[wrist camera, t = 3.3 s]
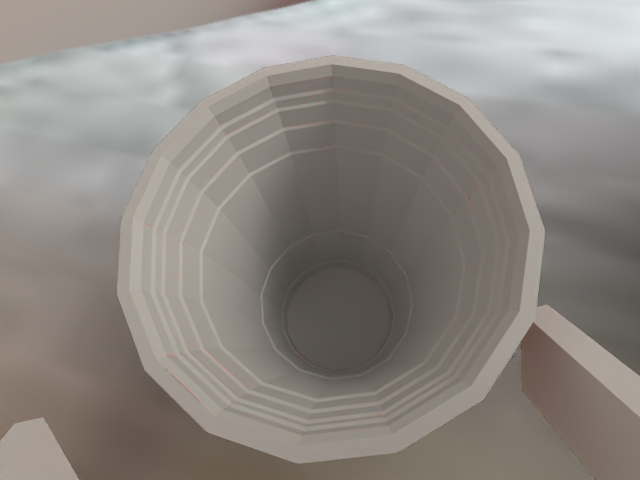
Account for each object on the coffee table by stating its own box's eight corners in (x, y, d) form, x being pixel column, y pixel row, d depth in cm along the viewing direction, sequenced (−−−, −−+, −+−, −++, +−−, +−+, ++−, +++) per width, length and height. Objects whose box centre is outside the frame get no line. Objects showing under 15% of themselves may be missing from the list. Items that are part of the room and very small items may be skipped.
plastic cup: (193, 368, 20) (5, 315, 9) (295, 199, 24) (245, 16, 13) (391, 484, 18) (454, 601, 7) (473, 275, 21) (602, 125, 10)
